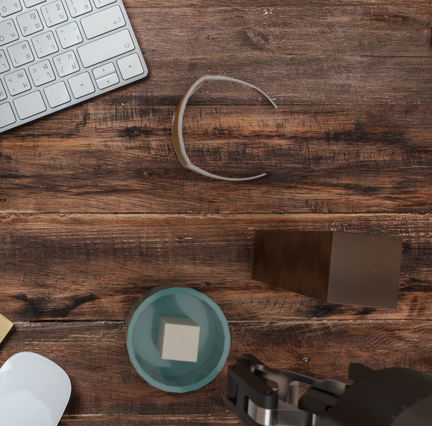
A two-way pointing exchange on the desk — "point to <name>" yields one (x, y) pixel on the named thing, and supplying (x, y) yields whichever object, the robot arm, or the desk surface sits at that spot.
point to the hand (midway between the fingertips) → (299, 371)
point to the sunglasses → (179, 117)
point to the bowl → (147, 333)
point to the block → (177, 338)
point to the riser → (331, 266)
